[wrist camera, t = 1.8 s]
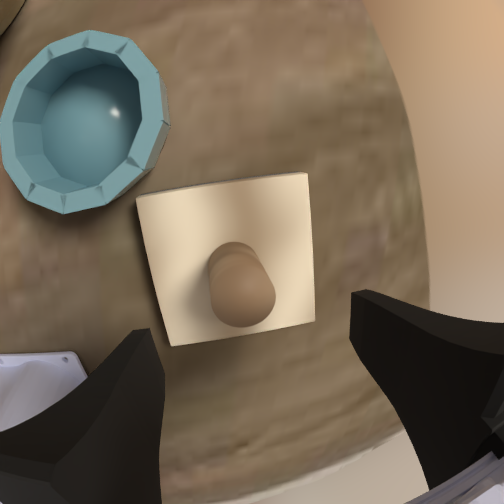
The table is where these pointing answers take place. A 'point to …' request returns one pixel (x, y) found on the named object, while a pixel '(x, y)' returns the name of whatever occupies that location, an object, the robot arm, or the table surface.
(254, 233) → the lid
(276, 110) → the table surface
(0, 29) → the planter bowl
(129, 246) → the table surface
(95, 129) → the bowl
